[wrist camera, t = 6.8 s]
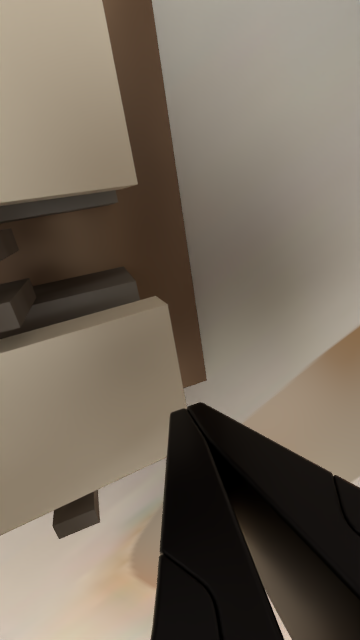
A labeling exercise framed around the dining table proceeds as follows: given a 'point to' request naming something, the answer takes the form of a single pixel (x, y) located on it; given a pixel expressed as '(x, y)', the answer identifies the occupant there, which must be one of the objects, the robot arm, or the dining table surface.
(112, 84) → the switch middle
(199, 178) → the dining table surface
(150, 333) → the switch
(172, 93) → the dining table surface
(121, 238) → the switch console
